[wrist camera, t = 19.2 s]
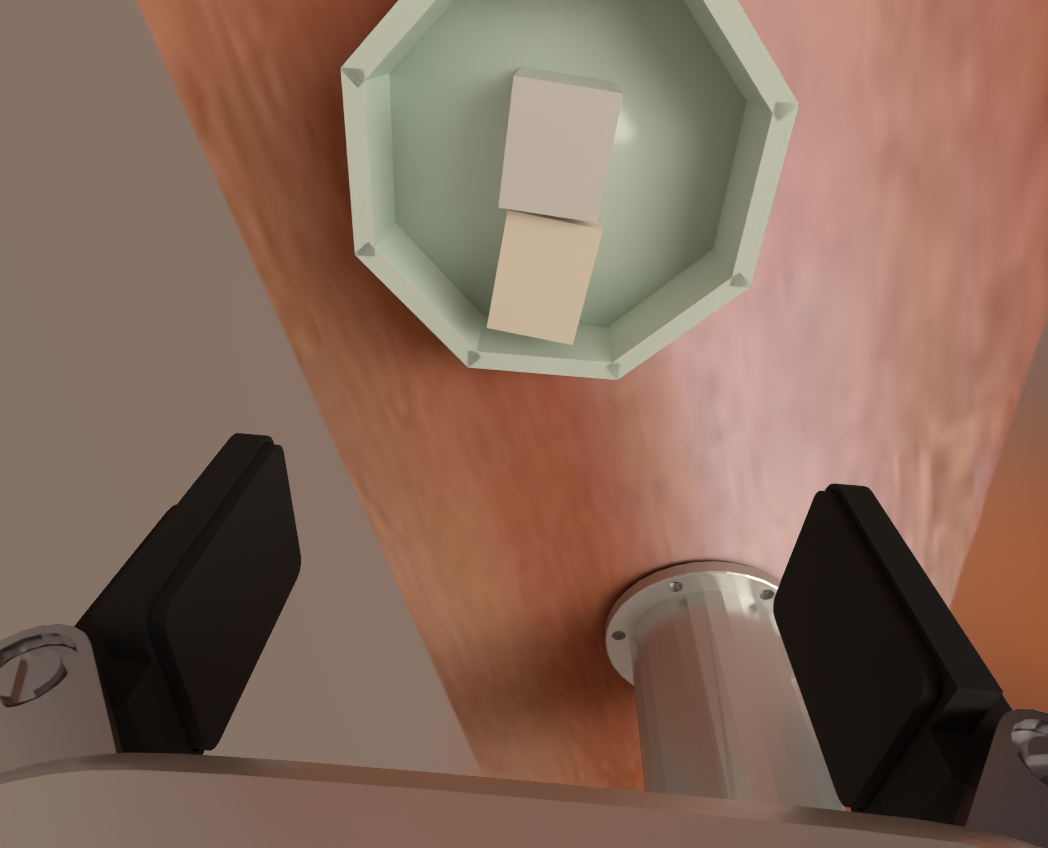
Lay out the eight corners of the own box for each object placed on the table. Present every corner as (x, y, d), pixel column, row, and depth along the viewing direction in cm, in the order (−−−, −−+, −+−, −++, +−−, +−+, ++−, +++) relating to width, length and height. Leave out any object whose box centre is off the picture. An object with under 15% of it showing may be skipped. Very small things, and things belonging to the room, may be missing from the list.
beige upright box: (602, 230, 24) (572, 345, 26) (597, 202, 27) (571, 306, 30) (507, 209, 23) (486, 327, 26) (515, 184, 27) (495, 291, 30)
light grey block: (613, 81, 25) (623, 93, 21) (592, 192, 27) (597, 223, 23) (521, 66, 25) (513, 75, 21) (508, 179, 27) (498, 207, 23)
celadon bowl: (798, -51, 23) (844, -66, 19) (703, 344, 31) (723, 388, 28) (365, -85, 23) (326, -106, 19) (386, 318, 31) (362, 359, 28)
